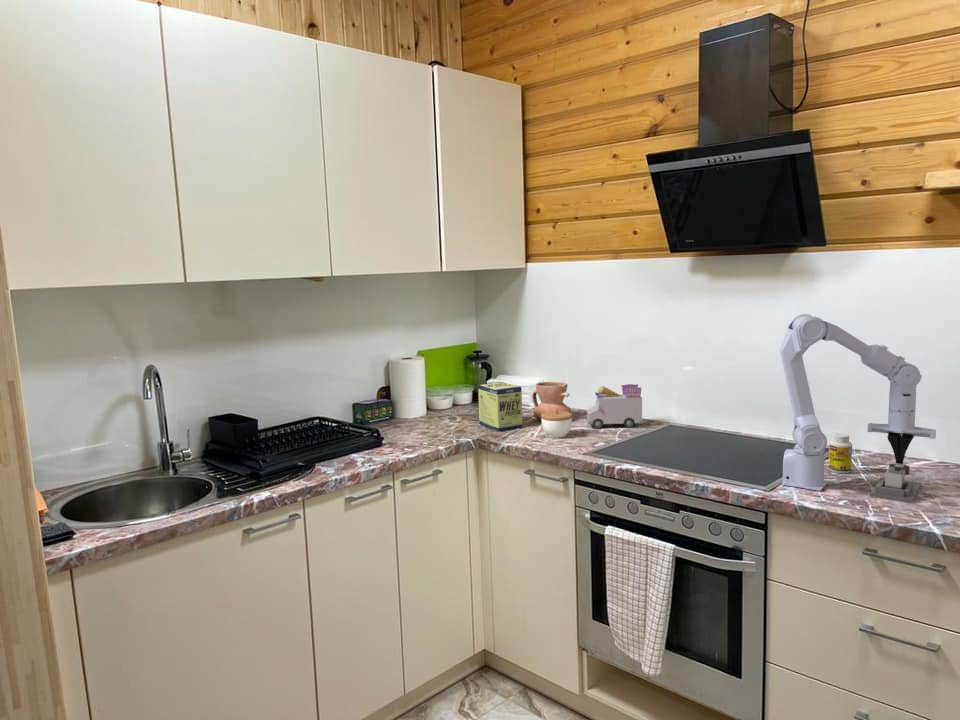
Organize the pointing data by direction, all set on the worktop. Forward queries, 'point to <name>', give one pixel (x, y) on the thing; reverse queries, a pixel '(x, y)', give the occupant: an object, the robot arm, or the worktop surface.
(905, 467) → the wheel
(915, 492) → the chassis
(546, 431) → the lidded jar
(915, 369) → the robot arm
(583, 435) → the worktop surface
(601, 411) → the toy vehicle
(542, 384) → the ceramic jug
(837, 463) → the supplement bottle
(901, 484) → the grey rectangular block
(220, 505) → the worktop surface
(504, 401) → the protein box
